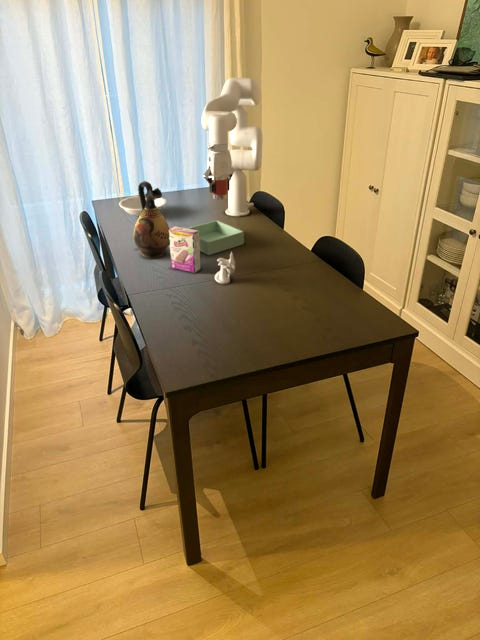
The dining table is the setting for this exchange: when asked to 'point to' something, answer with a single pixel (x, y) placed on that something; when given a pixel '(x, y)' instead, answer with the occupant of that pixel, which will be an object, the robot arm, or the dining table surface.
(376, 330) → the dining table surface
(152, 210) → the ceramic jug
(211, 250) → the green square tray
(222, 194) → the red glass jar
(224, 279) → the figurine
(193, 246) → the candy bar box
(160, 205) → the soup bowl
